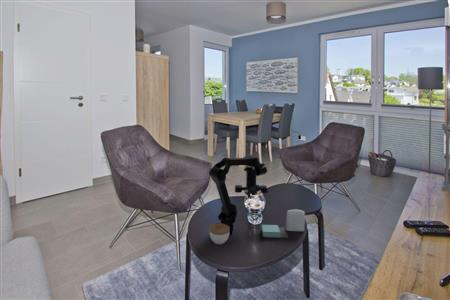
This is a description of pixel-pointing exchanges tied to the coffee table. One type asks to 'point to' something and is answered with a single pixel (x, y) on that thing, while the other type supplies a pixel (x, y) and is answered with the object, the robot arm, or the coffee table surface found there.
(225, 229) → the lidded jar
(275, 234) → the slab
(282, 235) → the mat
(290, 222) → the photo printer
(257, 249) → the coffee table surface
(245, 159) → the robot arm
